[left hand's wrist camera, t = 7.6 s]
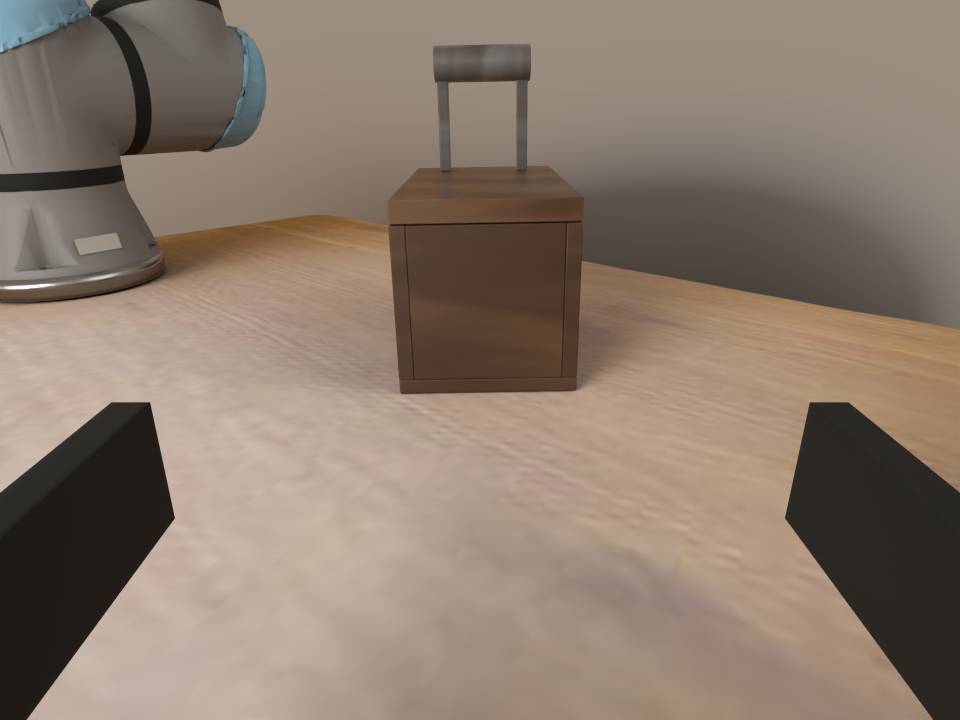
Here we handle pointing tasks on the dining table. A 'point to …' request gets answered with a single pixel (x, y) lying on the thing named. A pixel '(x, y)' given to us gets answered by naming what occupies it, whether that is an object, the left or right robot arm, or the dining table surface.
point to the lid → (484, 188)
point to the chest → (486, 305)
